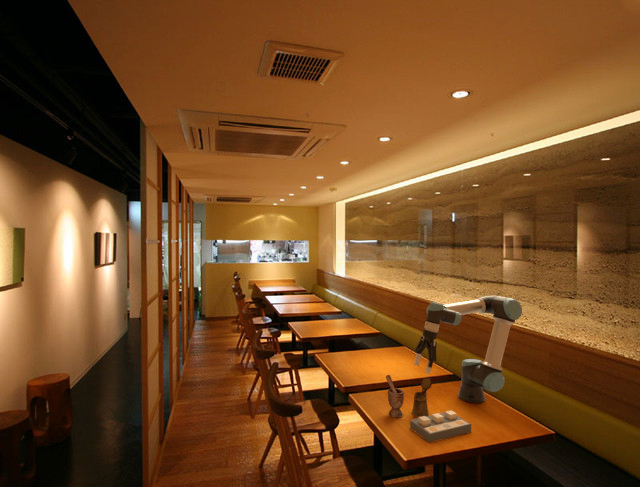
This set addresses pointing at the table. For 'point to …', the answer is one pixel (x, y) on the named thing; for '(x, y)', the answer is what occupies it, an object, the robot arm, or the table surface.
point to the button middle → (437, 418)
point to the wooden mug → (421, 399)
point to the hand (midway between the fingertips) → (421, 369)
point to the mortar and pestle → (395, 399)
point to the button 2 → (450, 415)
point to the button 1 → (424, 421)
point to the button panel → (441, 428)
